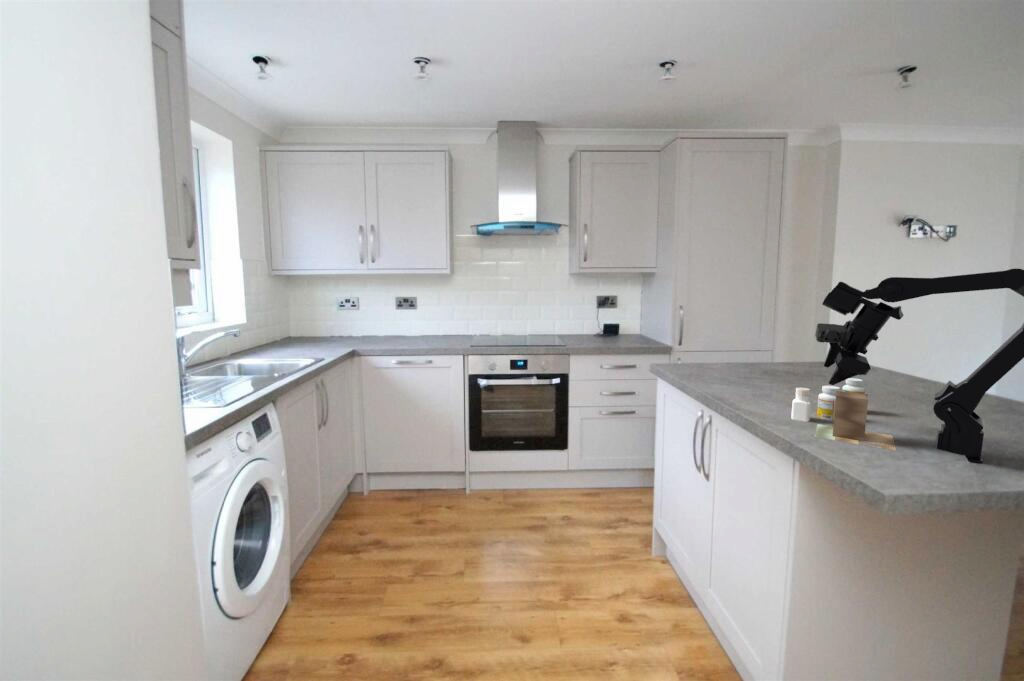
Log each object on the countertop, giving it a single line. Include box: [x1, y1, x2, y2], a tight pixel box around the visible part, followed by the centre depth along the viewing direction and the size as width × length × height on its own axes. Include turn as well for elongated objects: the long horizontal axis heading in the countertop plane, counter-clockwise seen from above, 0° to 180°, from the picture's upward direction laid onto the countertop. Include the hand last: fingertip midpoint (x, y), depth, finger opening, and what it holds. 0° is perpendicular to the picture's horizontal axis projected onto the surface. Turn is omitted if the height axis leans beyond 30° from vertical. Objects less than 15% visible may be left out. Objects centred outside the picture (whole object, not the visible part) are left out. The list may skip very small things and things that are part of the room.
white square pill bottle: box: [790, 387, 812, 423], centre depth 121 cm, size 4×4×10 cm
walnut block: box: [833, 390, 869, 442], centre depth 108 cm, size 6×6×10 cm
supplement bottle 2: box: [841, 377, 866, 394], centre depth 132 cm, size 5×5×10 cm
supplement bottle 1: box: [816, 385, 841, 421], centre depth 122 cm, size 5×5×10 cm
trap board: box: [813, 424, 897, 452], centre depth 108 cm, size 15×12×1 cm
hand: (828, 375), depth 116 cm, fingers open, 9 cm apart
